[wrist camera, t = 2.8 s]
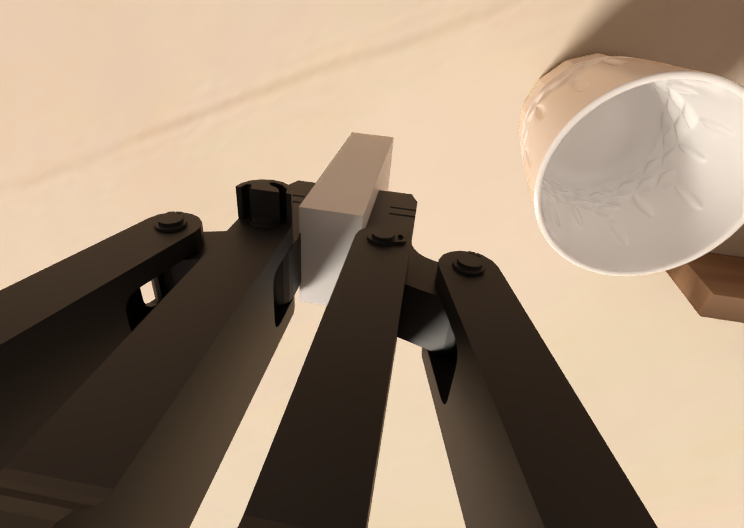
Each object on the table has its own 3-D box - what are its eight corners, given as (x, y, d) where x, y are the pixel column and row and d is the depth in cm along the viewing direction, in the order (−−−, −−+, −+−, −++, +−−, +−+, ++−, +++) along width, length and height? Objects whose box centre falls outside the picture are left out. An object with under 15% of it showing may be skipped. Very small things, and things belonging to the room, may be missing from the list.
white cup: (620, 4, 21) (729, 13, 13) (684, 133, 24) (809, 210, 16) (480, 106, 25) (494, 165, 16) (549, 209, 27) (591, 306, 19)
